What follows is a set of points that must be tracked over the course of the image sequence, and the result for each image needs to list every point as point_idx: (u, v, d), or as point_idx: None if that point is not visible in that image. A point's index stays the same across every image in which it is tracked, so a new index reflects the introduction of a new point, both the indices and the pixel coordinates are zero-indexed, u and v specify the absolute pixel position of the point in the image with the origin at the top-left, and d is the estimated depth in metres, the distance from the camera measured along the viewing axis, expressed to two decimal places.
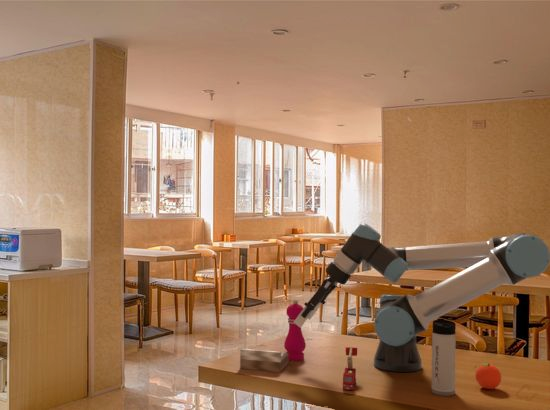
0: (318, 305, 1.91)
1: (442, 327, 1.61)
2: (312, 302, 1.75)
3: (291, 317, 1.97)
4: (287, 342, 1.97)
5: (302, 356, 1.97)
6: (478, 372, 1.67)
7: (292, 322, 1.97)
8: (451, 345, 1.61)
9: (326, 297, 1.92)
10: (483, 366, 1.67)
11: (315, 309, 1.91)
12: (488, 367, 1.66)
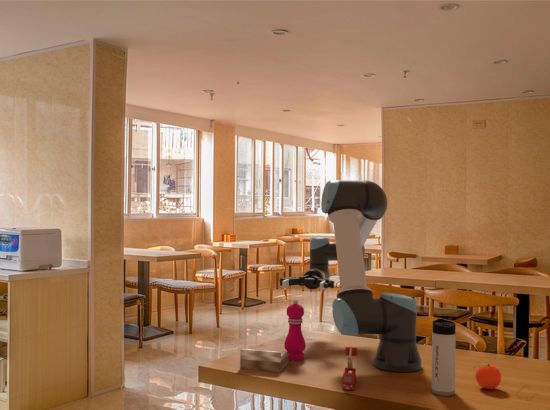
0: None
1: (442, 327, 1.61)
2: None
3: (291, 317, 1.97)
4: (287, 342, 1.97)
5: (302, 356, 1.97)
6: (478, 372, 1.67)
7: (292, 322, 1.97)
8: (451, 345, 1.61)
9: (330, 280, 2.14)
10: (483, 366, 1.67)
11: None
12: (488, 367, 1.66)
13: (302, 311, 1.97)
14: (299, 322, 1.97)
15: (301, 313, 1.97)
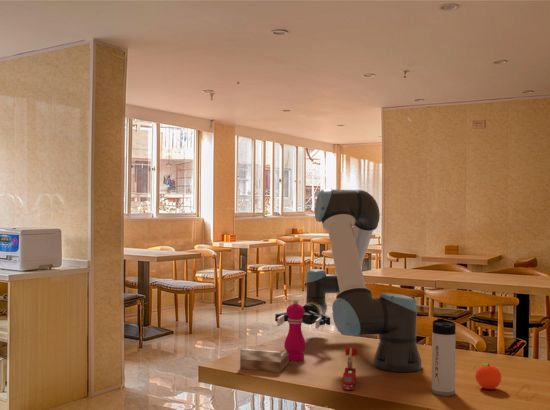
0: (318, 319, 2.07)
1: (442, 327, 1.61)
2: None
3: (291, 317, 1.97)
4: (287, 342, 1.97)
5: (302, 356, 1.97)
6: (478, 372, 1.67)
7: (292, 322, 1.97)
8: (451, 345, 1.61)
9: (326, 317, 2.10)
10: (483, 366, 1.67)
11: None
12: (488, 367, 1.66)
13: (302, 311, 1.97)
14: (299, 322, 1.97)
15: (301, 313, 1.97)
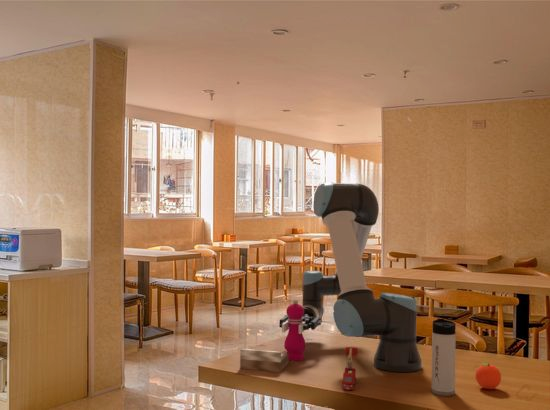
0: (302, 323, 1.98)
1: (442, 327, 1.61)
2: None
3: (291, 317, 1.97)
4: (287, 342, 1.97)
5: (302, 356, 1.97)
6: (478, 372, 1.67)
7: (292, 322, 1.97)
8: (451, 345, 1.61)
9: (312, 321, 2.01)
10: (483, 366, 1.67)
11: None
12: (488, 367, 1.66)
13: (302, 311, 1.97)
14: (299, 322, 1.97)
15: (301, 313, 1.97)
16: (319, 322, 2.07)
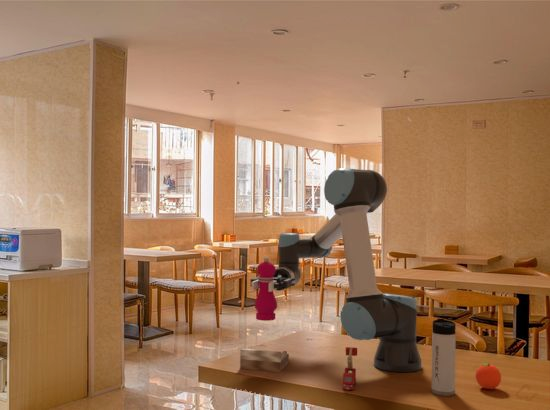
0: None
1: (442, 327, 1.61)
2: None
3: (261, 275, 1.88)
4: (257, 301, 1.88)
5: (273, 316, 1.88)
6: (478, 372, 1.67)
7: (262, 280, 1.88)
8: (451, 345, 1.61)
9: (284, 280, 1.92)
10: (483, 366, 1.67)
11: None
12: (488, 367, 1.66)
13: (273, 269, 1.88)
14: (270, 280, 1.88)
15: (272, 271, 1.88)
16: (293, 283, 1.98)
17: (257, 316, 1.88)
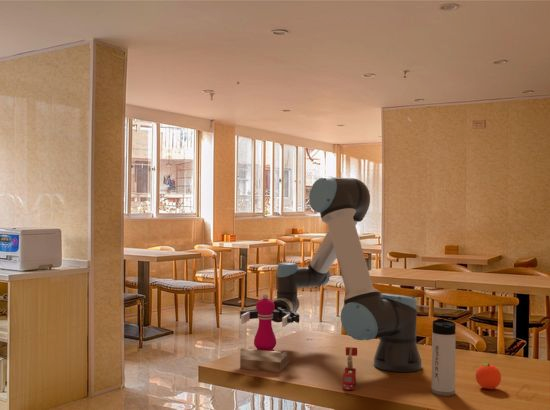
0: None
1: (442, 327, 1.61)
2: None
3: (261, 312, 1.87)
4: (257, 339, 1.87)
5: None
6: (478, 372, 1.67)
7: (262, 318, 1.87)
8: (451, 345, 1.61)
9: (295, 314, 1.92)
10: (483, 366, 1.67)
11: None
12: (488, 367, 1.66)
13: (272, 306, 1.88)
14: (269, 317, 1.87)
15: (271, 308, 1.87)
16: None
17: None
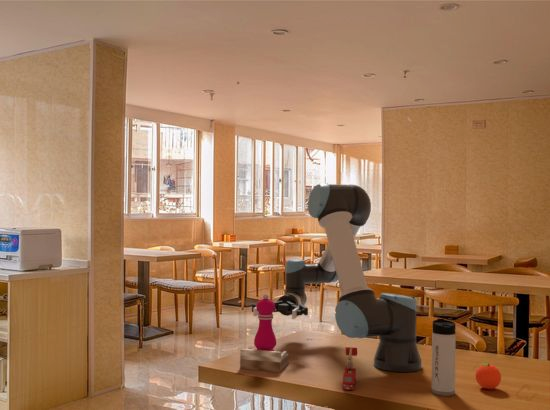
0: None
1: (442, 327, 1.61)
2: None
3: (261, 312, 1.87)
4: (257, 339, 1.87)
5: None
6: (478, 372, 1.67)
7: (262, 318, 1.87)
8: (451, 345, 1.61)
9: (304, 307, 2.05)
10: (483, 366, 1.67)
11: None
12: (488, 367, 1.66)
13: (272, 306, 1.87)
14: (269, 318, 1.87)
15: (271, 308, 1.87)
16: None
17: None
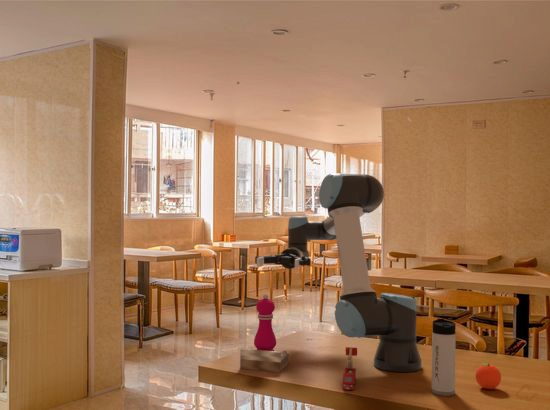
0: None
1: (442, 327, 1.61)
2: None
3: (261, 312, 1.87)
4: (257, 339, 1.87)
5: None
6: (478, 372, 1.67)
7: (262, 318, 1.87)
8: (451, 345, 1.61)
9: (306, 258, 2.08)
10: (483, 366, 1.67)
11: None
12: (488, 367, 1.66)
13: (272, 306, 1.87)
14: (269, 318, 1.87)
15: (271, 308, 1.87)
16: None
17: None
